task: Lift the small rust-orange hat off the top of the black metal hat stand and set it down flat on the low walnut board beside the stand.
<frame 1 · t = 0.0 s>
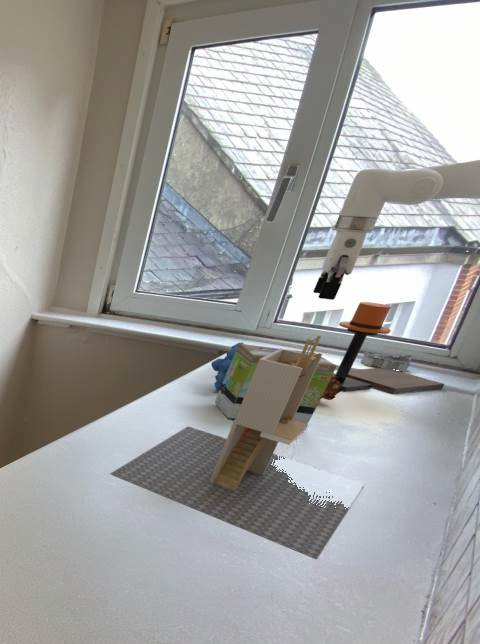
hand: (323, 296, 141), 22 cm above the counter, tool pointing down, fingers open, 9 cm apart
hat stand: (337, 383, 146), on the counter
egg carton: (382, 367, 164), on the counter
hat: (363, 328, 140), point 15 cm above the counter, touching hat stand
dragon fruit: (302, 400, 134), on the counter
board: (387, 382, 150), on the counter
tea box: (257, 417, 122), on the counter
grapes: (217, 389, 138), on the counter
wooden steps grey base: (238, 479, 95), on the counter
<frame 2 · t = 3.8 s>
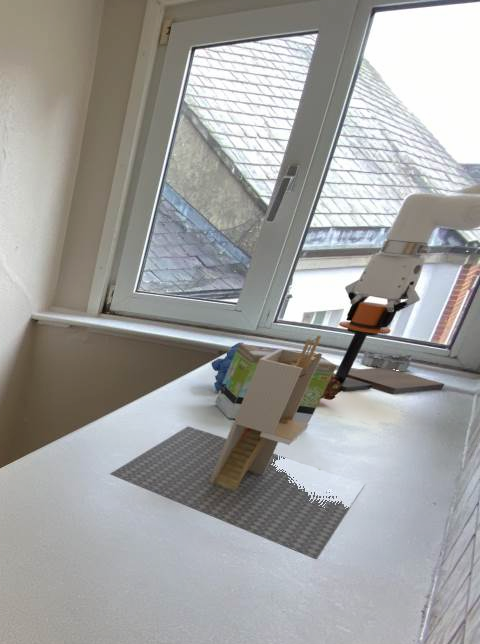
hand: (366, 323, 139), 16 cm above the counter, tool pointing down, fingers closed on hat, 6 cm apart
hat: (363, 328, 140), point 15 cm above the counter, touching gripper, hat stand
everything else where it was.
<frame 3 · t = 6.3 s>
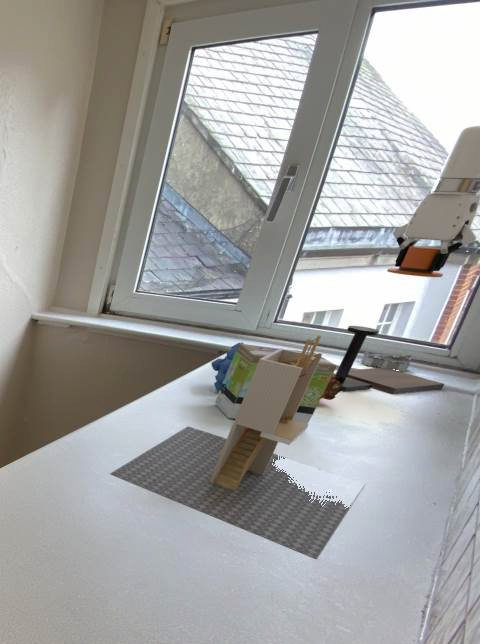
hand: (416, 267, 134), 30 cm above the counter, tool pointing down, fingers closed on hat, 6 cm apart
hat: (413, 273, 135), point 29 cm above the counter, touching gripper
everything else where it was.
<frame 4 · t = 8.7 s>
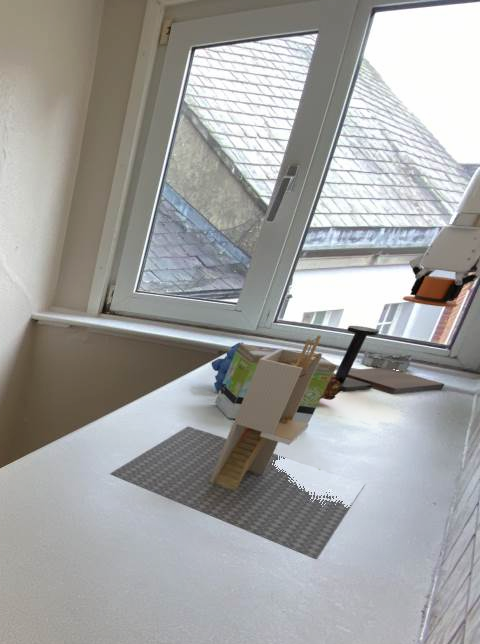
hand: (431, 297, 139), 23 cm above the counter, tool pointing down, fingers closed on hat, 6 cm apart
hat: (428, 302, 140), point 22 cm above the counter, touching gripper
everything else where it was.
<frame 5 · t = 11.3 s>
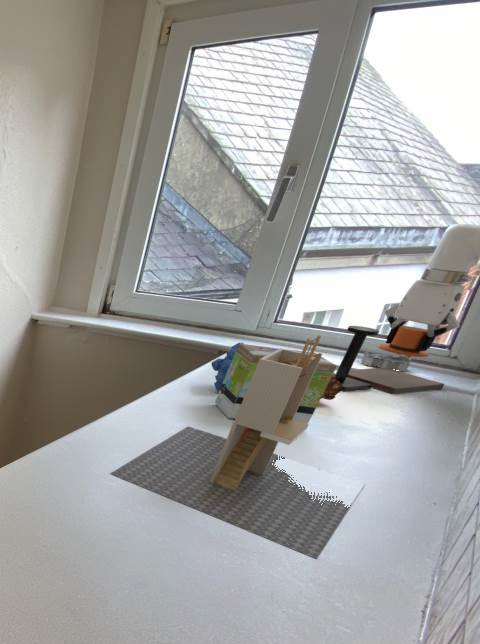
hand: (405, 346, 145), 10 cm above the counter, tool pointing down, fingers closed on hat, 6 cm apart
hat: (402, 351, 146), point 9 cm above the counter, touching gripper
everything else where it was.
when the fingers open (3 cm above the counter, at t = 13.5 s): hat stays where it is, resting on board.
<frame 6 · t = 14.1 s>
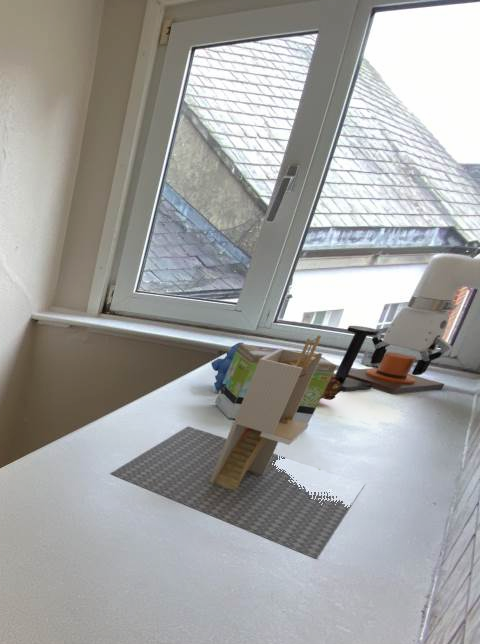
hand: (395, 368, 148), 4 cm above the counter, tool pointing down, fingers open, 9 cm apart
hat: (389, 377, 149), point 1 cm above the counter, touching board
everything else where it was.
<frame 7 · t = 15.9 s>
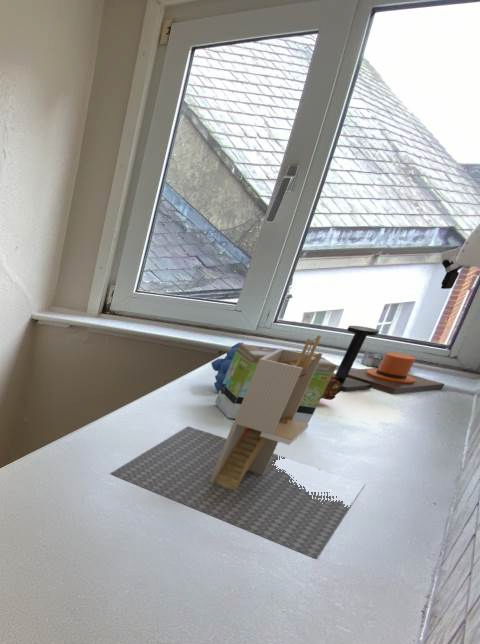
hand: (470, 291, 135), 25 cm above the counter, tool pointing down, fingers open, 9 cm apart
nothing on the counter moved.
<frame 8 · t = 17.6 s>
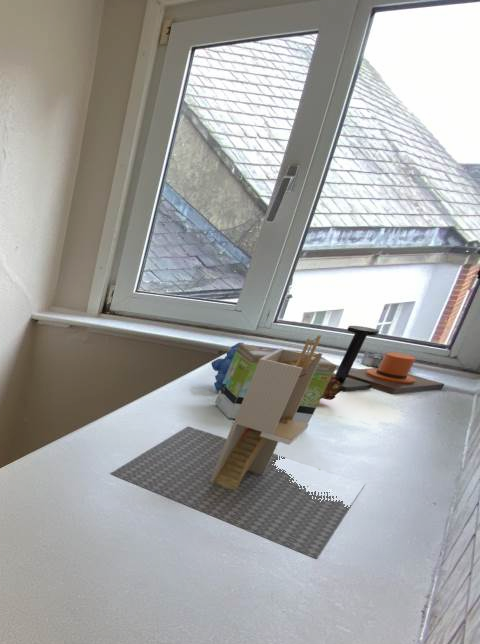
nothing on the counter moved.
at the end: hat inside the target area on the board (0.1 cm from its centre), point 1.5 cm above the board's base; hat tilted 0° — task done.
